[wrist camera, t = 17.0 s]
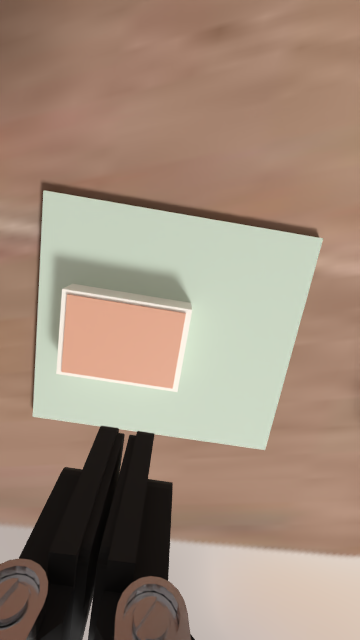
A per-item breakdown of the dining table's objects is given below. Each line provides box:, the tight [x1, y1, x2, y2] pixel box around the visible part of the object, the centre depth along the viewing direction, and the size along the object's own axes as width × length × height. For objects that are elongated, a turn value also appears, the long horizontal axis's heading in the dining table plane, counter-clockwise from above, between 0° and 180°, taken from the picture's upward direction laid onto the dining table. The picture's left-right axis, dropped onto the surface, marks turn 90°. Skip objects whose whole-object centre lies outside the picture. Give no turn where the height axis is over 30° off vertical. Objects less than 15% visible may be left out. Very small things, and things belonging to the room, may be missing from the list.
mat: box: [33, 190, 323, 450], centre depth 26 cm, size 18×20×1 cm
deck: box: [56, 284, 192, 392], centre depth 24 cm, size 6×2×9 cm
